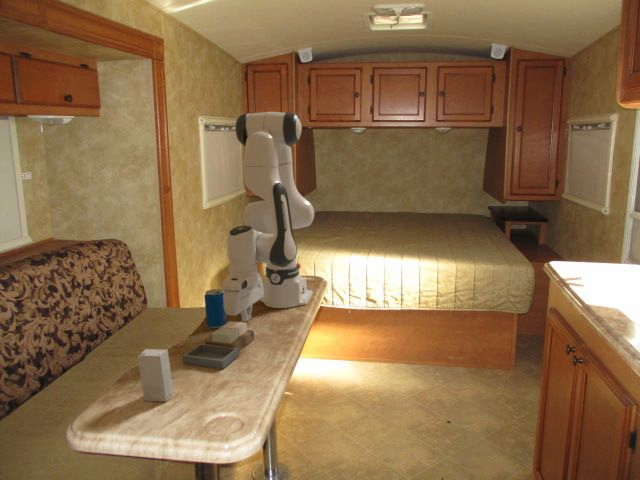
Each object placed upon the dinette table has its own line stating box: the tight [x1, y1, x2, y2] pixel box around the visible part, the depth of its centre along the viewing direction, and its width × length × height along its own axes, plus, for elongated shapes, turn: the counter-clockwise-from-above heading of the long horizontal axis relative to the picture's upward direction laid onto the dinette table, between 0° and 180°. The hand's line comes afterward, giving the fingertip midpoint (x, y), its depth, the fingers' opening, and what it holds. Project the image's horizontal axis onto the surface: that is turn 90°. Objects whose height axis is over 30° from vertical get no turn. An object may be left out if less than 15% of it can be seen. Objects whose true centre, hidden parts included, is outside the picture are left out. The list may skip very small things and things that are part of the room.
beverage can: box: [204, 288, 227, 329], centre depth 174 cm, size 6×6×12 cm
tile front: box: [211, 328, 238, 344], centre depth 155 cm, size 5×6×2 cm
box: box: [181, 343, 240, 371], centre depth 148 cm, size 9×13×2 cm
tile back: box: [221, 320, 248, 337], centre depth 160 cm, size 5×6×2 cm
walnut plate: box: [204, 329, 255, 353], centre depth 158 cm, size 12×10×3 cm
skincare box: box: [137, 348, 174, 403], centre depth 127 cm, size 6×4×12 cm
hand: (246, 319), depth 167 cm, fingers closed
